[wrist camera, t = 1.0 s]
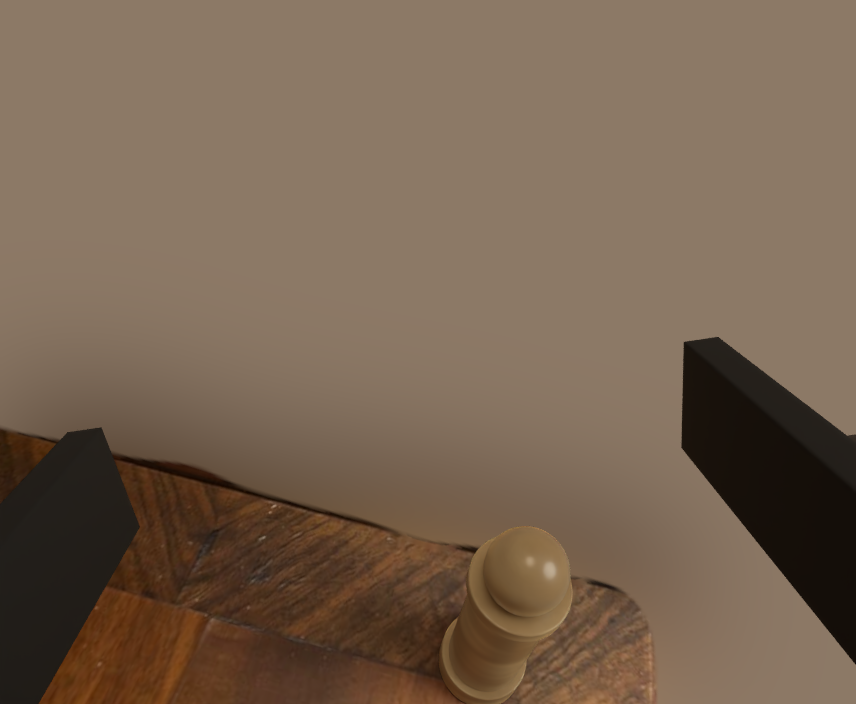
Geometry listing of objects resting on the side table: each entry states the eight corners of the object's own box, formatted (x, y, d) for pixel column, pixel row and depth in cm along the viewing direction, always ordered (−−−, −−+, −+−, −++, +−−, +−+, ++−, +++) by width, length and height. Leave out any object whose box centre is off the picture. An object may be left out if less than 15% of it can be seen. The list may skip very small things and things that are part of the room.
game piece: (428, 691, 28) (468, 585, 20) (450, 608, 30) (493, 487, 23) (512, 720, 27) (586, 624, 20) (527, 634, 30) (598, 519, 22)
